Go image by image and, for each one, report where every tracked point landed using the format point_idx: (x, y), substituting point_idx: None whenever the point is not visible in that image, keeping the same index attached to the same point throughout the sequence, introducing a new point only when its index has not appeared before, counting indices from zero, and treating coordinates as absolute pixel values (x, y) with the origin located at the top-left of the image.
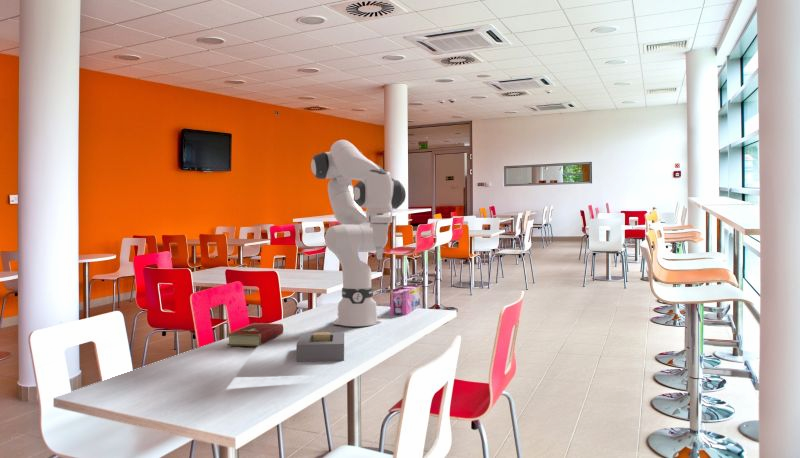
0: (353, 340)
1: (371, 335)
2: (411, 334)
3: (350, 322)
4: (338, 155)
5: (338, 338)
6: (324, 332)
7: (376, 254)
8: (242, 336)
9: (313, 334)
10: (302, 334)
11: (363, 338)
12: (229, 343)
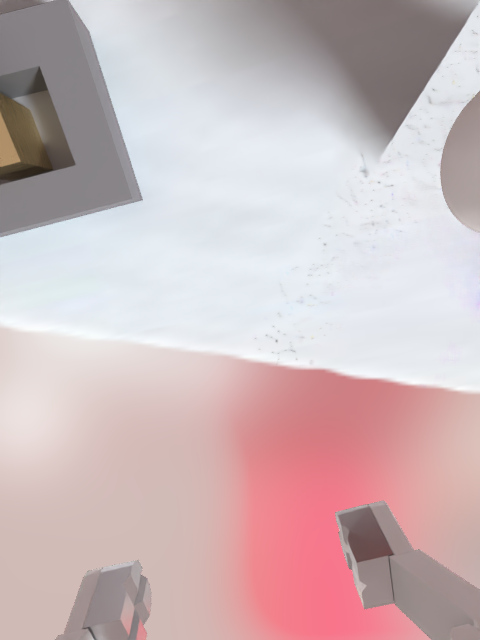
0: (259, 204)
1: (346, 248)
2: (364, 367)
3: (458, 142)
4: None
5: (7, 207)
6: (3, 138)
7: (348, 539)
8: None
9: (56, 72)
10: (41, 14)
11: (295, 231)
12: None
